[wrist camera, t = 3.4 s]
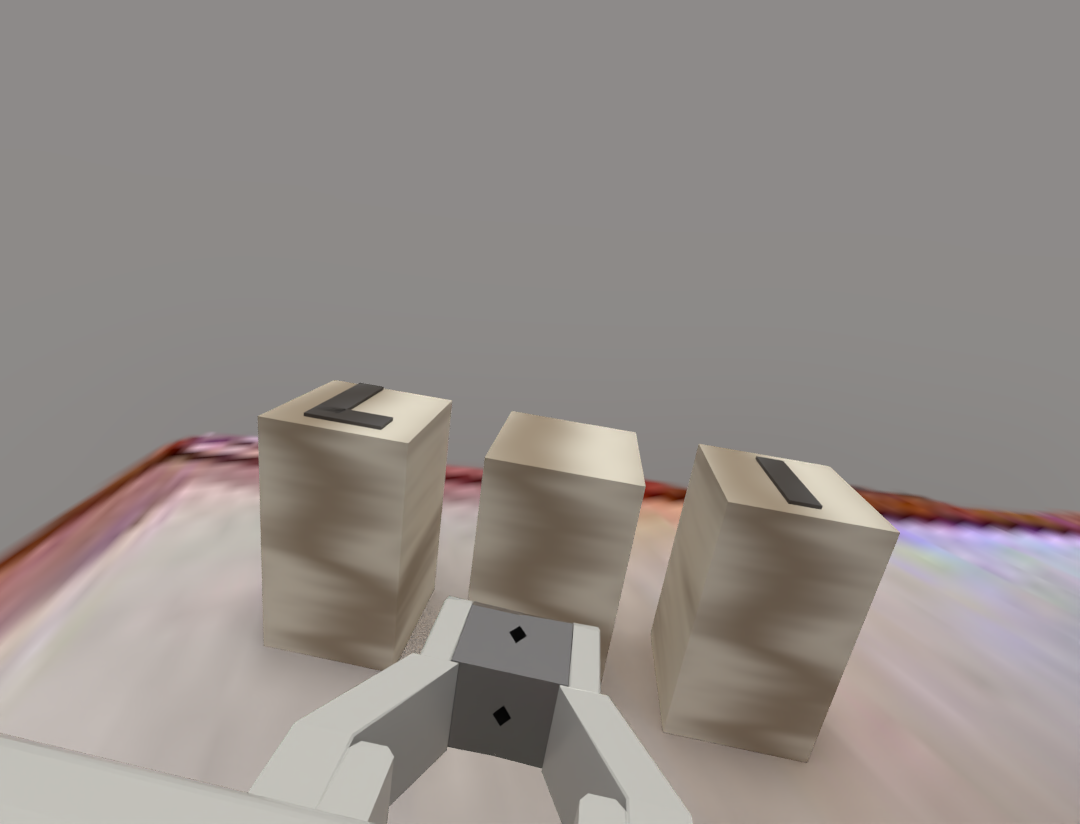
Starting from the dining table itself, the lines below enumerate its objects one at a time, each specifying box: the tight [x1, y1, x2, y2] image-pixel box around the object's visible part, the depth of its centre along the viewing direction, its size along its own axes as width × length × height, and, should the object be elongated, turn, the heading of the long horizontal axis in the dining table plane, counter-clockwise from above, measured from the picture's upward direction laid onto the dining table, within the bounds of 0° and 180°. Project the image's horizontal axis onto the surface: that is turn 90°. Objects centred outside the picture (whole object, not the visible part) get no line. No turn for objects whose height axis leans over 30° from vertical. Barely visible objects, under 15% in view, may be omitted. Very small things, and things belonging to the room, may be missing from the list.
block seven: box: [258, 380, 452, 671], centre depth 24 cm, size 6×6×11 cm
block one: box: [651, 444, 900, 763], centre depth 23 cm, size 6×6×11 cm
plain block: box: [468, 411, 645, 685], centre depth 24 cm, size 6×6×11 cm
